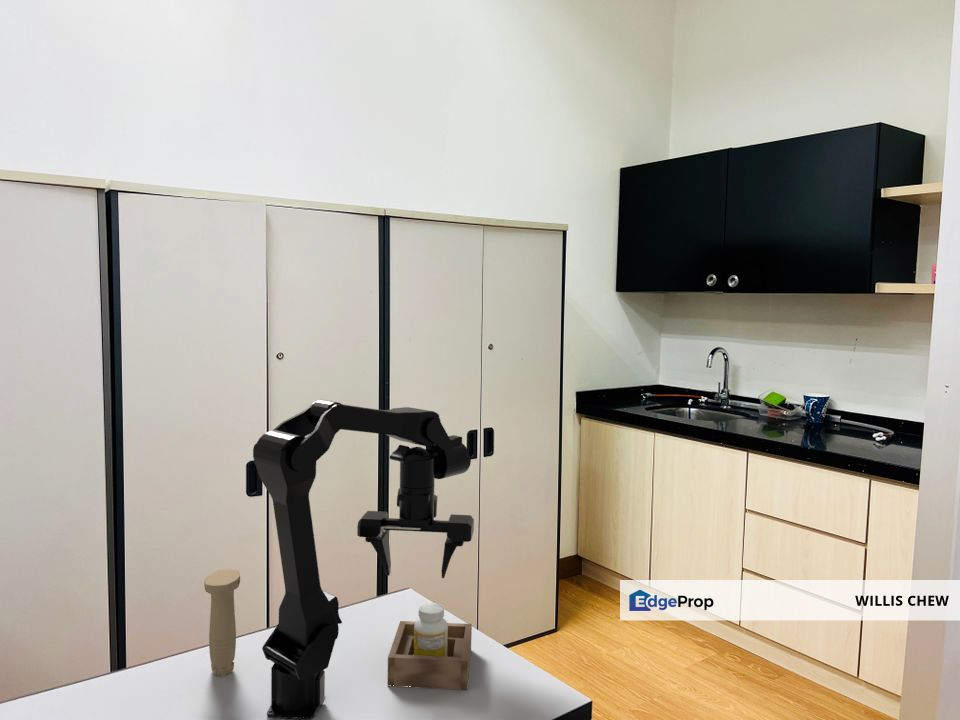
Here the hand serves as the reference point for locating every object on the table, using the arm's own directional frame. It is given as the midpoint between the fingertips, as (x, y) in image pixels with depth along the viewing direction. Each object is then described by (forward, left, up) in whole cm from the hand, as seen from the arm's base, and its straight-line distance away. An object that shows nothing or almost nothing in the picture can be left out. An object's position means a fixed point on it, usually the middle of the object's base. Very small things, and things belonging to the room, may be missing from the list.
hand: (415, 576), depth 114 cm
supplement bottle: (+3, -6, -12) cm, 14 cm away
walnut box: (+4, -6, -12) cm, 14 cm away
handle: (-28, -10, -12) cm, 33 cm away
